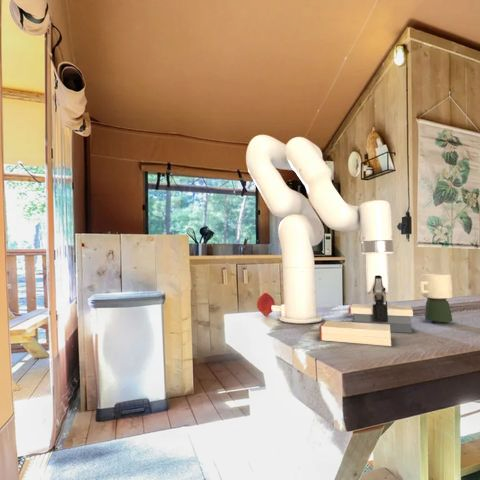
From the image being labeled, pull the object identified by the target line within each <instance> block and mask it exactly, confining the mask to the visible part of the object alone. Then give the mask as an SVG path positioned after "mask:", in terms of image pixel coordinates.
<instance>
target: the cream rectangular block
mask: <svg viewBox="0 0 480 480" xmlns="http://www.w3.org/2000/svg"><path fill="white" fill-rule="evenodd" d="M318 332H319V333H318V335H319V341H324V342H337V343H349V344H361V345H371V346H383V347H384V346H385V347H392V335H391V334H392V333H391V332H390V324H373V323H356V322H352V321H337V320H336V321H335V320H324V321H323V322H322V323H321V324H320V325H319V326H318Z"/></svg>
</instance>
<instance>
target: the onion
mask: <svg viewBox="0 0 480 480" xmlns="http://www.w3.org/2000/svg"><path fill="white" fill-rule="evenodd" d="M272 305H276V302H275V299H274V298H273V297H272V296H271V295H270V294H269V293H268V292H267V291H265V290H263V293H262V294H261V295H260V296H259V298H258V299H257V301H256V308H257V309H258V311H259V312H260V313H261V314H262V315H263V316H265V317H268V316H269V315H270V314H271V313H273V311H272V310H271V307H272Z"/></svg>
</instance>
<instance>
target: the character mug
mask: <svg viewBox="0 0 480 480" xmlns="http://www.w3.org/2000/svg"><path fill="white" fill-rule="evenodd" d="M419 278H420V281H419V292H420V294H421V296H422V297H423V298H426V302H425V309H424V320H425V321H432V323H434V324H435V323H437V322H440V323H452V322H453V316H452V311H451V306H450V304H449V301H448V300H449V299H452V298H453V282H452V274H449V273H421V274H420V276H419Z"/></svg>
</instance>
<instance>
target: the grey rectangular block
mask: <svg viewBox="0 0 480 480" xmlns="http://www.w3.org/2000/svg"><path fill="white" fill-rule="evenodd" d="M411 317H412V316H393V315H388V322H375V321H374V320H373V315H372V314H353V318H352V320H351V322H356V323H373V324H390V333H391V332H392V333H404V334H405V333H406V334H412V332H413V331H412V318H411Z"/></svg>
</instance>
